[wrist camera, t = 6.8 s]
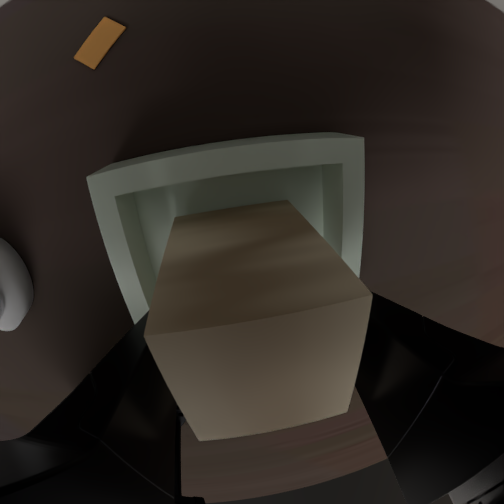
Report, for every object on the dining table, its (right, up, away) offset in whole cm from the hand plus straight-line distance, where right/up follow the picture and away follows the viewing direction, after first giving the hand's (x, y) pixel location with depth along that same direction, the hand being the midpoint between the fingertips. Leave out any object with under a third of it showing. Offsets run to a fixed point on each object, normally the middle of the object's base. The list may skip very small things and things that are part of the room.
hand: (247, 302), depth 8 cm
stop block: (0, +1, +2) cm, 3 cm away
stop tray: (-1, +2, +3) cm, 4 cm away
